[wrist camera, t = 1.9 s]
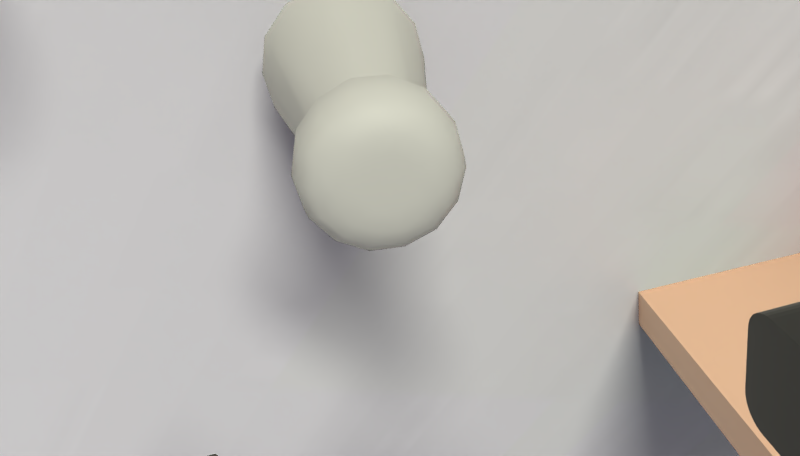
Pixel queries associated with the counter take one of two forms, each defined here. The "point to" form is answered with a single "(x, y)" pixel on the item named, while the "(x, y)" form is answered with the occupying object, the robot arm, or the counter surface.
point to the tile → (719, 337)
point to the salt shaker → (362, 121)
